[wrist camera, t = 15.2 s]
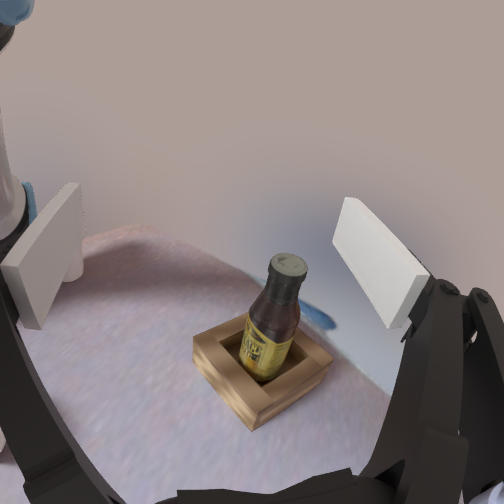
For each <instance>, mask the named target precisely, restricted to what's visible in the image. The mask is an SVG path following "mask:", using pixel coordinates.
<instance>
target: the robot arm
mask: <svg viewBox="0 0 504 504" xmlns="http://www.w3.org/2000/svg"><path fill="white" fill-rule="evenodd" d="M33 7H34V0H0V54H1V53H2V52H3V51H4V50H5V49H6V47H7V46H8V45H9V43H10V41H11V39H12V37H13V35H14V30H15V25H17V24H19V23H20V22H21V21H24V20H26V19H27V18H29V16H30V15H31V13H32V11H33ZM85 235H86V227H85V220H84V212H83V203H82V192H81V183H67V184H66V185H65V186H64V187H63V188H62V189H61V190H60V191H59V192H58V193H57V194H56V196H55V197H54V198H53V199H52V200H51V201H50V202H49V203H48V204H47V206H46V207H45V208H44V209H43V210H42V211H41V212H40V214H39V215H38V216H37V211H36V204H35V197H34V192H33V188H32V185H31V184H30V183H29V182H26V183H24V182H20V180H19V179H18V178H17V177H16V176H15V175H13V174H12V173H11V172H10V168H9V163H8V157H7V152H6V146H5V140H4V134H3V127H2V119H1V111H0V427H1V430H2V432H3V434H4V437H5V439H6V441H7V443H8V446H9V448H10V450H11V452H12V454H13V456H14V458H15V460H16V462H17V464H18V466H19V468H20V470H21V472H22V474H23V476H24V478H25V483H24V485H23V488H24V492H25V494H26V496H27V498H28V500H29V502H30V503H31V504H126V503H125V501H124V500H123V499H122V498H121V497H120V496H119V495H118V494H117V493H116V492H115V491H114V490H113V489H112V488H111V487H110V485H109V484H108V483H107V482H106V481H105V480H104V478H103V477H102V476H101V474H100V473H99V472H98V471H97V469H96V468H95V467H94V465H93V464H92V463H91V461H90V460H89V458H88V457H87V456H86V454H85V453H84V451H83V450H82V449H81V447H80V446H79V444H78V443H77V441H76V440H75V438H74V437H73V435H72V434H71V432H70V431H69V429H68V427H67V426H66V424H65V423H64V421H63V419H62V418H61V416H60V414H59V413H58V411H57V409H56V407H55V406H54V404H53V402H52V400H51V399H50V397H49V395H48V393H47V391H46V389H45V387H44V385H43V384H42V382H41V380H40V378H39V376H38V374H37V371H36V369H35V367H34V365H33V363H32V361H31V359H30V357H29V354H28V352H27V350H26V347H25V345H24V343H23V340H22V338H21V335H20V333H19V331H18V328H17V326H16V323H17V320H18V318H19V317H20V319H21V321H22V323H23V326H24V328H28V329H35V330H42V328H43V325H44V322H45V320H46V317H47V315H48V313H49V310H50V308H51V305H52V303H53V301H54V299H55V296H56V294H57V292H58V290H59V287H60V285H61V283H62V281H63V279H64V277H65V274H66V272H67V270H68V268H69V266H70V264H71V262H72V260H73V258H74V256H75V254H76V252H77V250H78V248H79V246H80V245H81V243H82V241H83V239H84V237H85ZM332 243H333V244H334V246H335V247H336V249H337V250H338V252H339V253H340V255H341V256H342V258H343V259H344V261H345V262H346V264H347V265H348V267H349V268H350V270H351V271H352V273H353V274H354V276H355V278H356V279H357V281H358V282H359V284H360V285H361V287H362V288H363V290H364V291H365V293H366V295H367V296H368V298H369V299H370V301H371V303H372V304H373V306H374V308H375V309H376V311H377V312H378V314H379V316H380V317H381V319H382V321H383V322H384V324H385V325H386V327H387V329H394V328H401V327H402V326H403V324H404V323H405V321H406V319H407V317H409V318H410V320H411V321H412V324H411V325H410V327H409V328H408V330H407V332H406V333H405V335H404V336H403V338H402V340H401V342H402V343H403V341H404V340H405V339H406V342H405V346H404V351H403V356H402V360H401V364H400V368H399V372H398V376H397V379H396V383H395V387H394V390H393V394H392V397H391V401H390V404H389V407H388V411H387V414H386V417H385V420H384V423H383V426H382V429H381V432H380V435H379V438H378V440H377V443H376V446H375V449H374V451H373V454H372V457H371V459H370V461H369V462H368V464H367V465H366V467H365V468H364V469H363V471H362V472H361V473H360V475H359V476H357V475H352V472H351V469H350V468H346V469H342V470H338V471H335V472H330V473H326V474H322V475H318V476H313V477H311V478H309V479H306V480H304V481H302V482H300V483H298V484H295V485H293V486H291V487H289V488H286V489H284V490H282V491H279V492H277V493H274V494H259V493H250V492H241V491H234V490H227V489H209V490H177V497H173V498H169V499H166V500H163V501H160V502H157V503H155V504H458V503H459V499H460V494H461V490H462V492H463V500H464V504H504V323H503V320H502V318H501V316H500V314H499V312H498V309H497V307H496V305H495V303H494V301H493V299H492V297H491V296H490V295H489V294H488V292H486V291H485V290H483V289H480V288H473V289H472V290H471V292H470V294H469V296H464V295H461V294H460V291H459V290H458V289H457V287H456V286H454V285H453V284H452V283H450V282H448V281H446V280H443V279H438V280H436V279H435V278H434V277H433V275H432V274H431V273H430V272H429V271H428V270H427V269H426V267H425V266H424V265H423V264H421V262H420V261H419V260H418V259H417V258H416V256H415V255H414V254H413V253H412V252H411V251H410V250H409V249H407V248H406V247H405V246H404V245H403V244H402V243H401V242H400V241H399V240H398V239H397V238H396V236H395V235H393V233H392V232H391V231H390V230H389V229H388V228H387V227H386V226H385V225H384V224H383V223H382V222H381V221H380V220H379V219H378V218H377V217H376V216H375V215H374V214H373V213H372V212H371V211H370V210H369V209H368V208H367V207H366V206H365V205H364V204H363V203H362V202H361V201H360V200H359V199H357V198H349V197H345V200H344V204H343V207H342V211H341V214H340V217H339V221H338V224H337V228H336V231H335V234H334V237H333V241H332ZM476 331H477V337H476V339H475V341H474V342H473V343H472V340H471V338H472V337H473V335H474V334H475V332H476ZM458 430H459V435H458Z"/></svg>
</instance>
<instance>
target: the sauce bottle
mask: <svg viewBox="0 0 504 504" xmlns="http://www.w3.org/2000/svg"><path fill="white" fill-rule="evenodd" d="M307 270H308V267H307V264H306V263H305V261H304V260H303V259H301V258H300V257H298V256H295V255H293V254H289V253H280V254H276V255H275V256H274V257H273V258H272V259H271V261H270V264H269V268H268V272H269V275H268V279H267V283H266V285H265V288H264V290H263V291H262V292H261V294H260V295H259V296H258V298H257V299H256V301H255V302H254V303H253V305H252V306H251V307H250V309H249V312H248V317H247V321H246V326H245V329H244V334H243V339H242V344H241V349H240V353H239V358H238V364H239V365H240V366H241V367H242V368H243V369H244V370H245V371H246V373H247V374H248V375H249V376H250V377H251V378H252V379H253V380H254V381H255V382H256V383H257V384H260V385H262V384H267V383H269V382H271V381H272V380H273V379H275V378H276V376H277V375H278V373H279V371H280V369H281V367H282V364H283V362H284V359H285V357H286V355H287V352H288V350H289V347H290V345H291V342H292V340H293V337H294V335H295V332H296V327H297V325H298V323H299V319H300V314H301V313H300V306H299V303H298V299H297V298H298V294H299V293H298V292H299V289H300V286H301V283H302V282H303V281H304V280H305V278H306V274H307Z"/></svg>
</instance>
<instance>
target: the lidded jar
mask: <svg viewBox="0 0 504 504" xmlns="http://www.w3.org/2000/svg"><path fill="white" fill-rule="evenodd" d="M5 443H6V439H5V437H4V434H3V432H2V430H1V427H0V453H1V452H2V450H3V448H4V446H5Z"/></svg>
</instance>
